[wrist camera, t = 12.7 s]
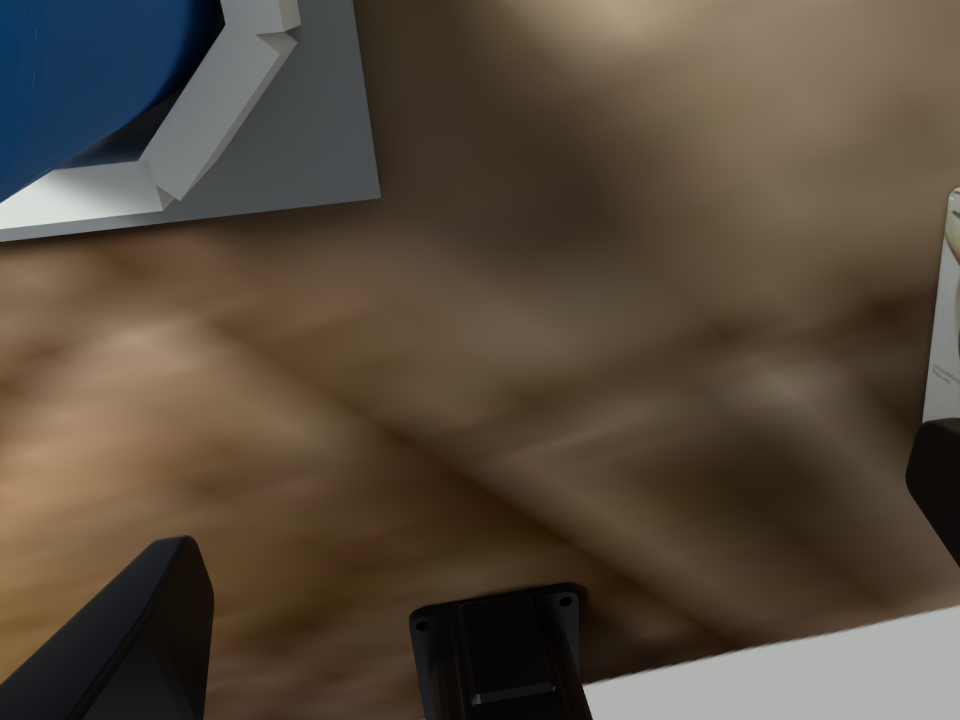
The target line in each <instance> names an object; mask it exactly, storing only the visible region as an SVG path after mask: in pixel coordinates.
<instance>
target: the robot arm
mask: <svg viewBox="0 0 960 720" xmlns="http://www.w3.org/2000/svg"><path fill="white" fill-rule="evenodd" d="M905 477H906V484H907V487H908V490H909V492H910V494H911V496H912V497H913V499H914V500H915V502H916V503H917V505H918V506H919V508H920V509H921V511H922V512H923V514H924V515H925V517H926V518H927V520H928V521H929V523H930V524H931V526H932V527H933V529H934V530H935V532H936V533H937V535H938V536H939V538H940V539H941V540H942V542H943V543H944V545H945V546H946V548H947V549H948V551H949V552H950V554H951V555H952V557H953V558H954V560H955V561H956V563H957V564H958V566H959V567H960V418H956V417H949V418H943V419H936V420H930V421H926V422H924V423H922V424H921V425H920V426H919V427H918V429H917V431H916V434H915V437H914V441H913V445H912V449H911V453H910V457H909V461H908V465H907V469H906V474H905ZM564 597H567V598H564ZM562 598H564V599H562ZM213 613H214V593H213V588H212V584H211V581H210V578H209V576H208V573H207V570H206V567H205V564H204V561H203V558H202V555H201V553H200V550H199V547H198V544H197V542H196V541H195V540H194V538H193V537H191V536H188V535H184V536H177V537H171V538H164V539H159V540H156V541H154V542H152V543H151V544H150V545H149V546H148V547H147V548H146V549H144V550H143V551H142V552H141V553H140V554H139V555H138V556H137V557H136V558H135V559H134V560H133V561H132V562H131V563H130V564H128V565H127V566H126V567H125V568H124V569H123V570H122V571H121V572H120V573H119V574H118V575H117V576H116V577H115V578H114V579H113V580H111V581H110V582H109V583H108V584H107V585H106V586H105V587H104V588H103V589H102V590H101V591H100V592H99V593H98V594H97V595H95V596H94V597H93V598H92V599H91V600H90V601H89V602H88V603H87V604H86V605H85V606H84V607H83V608H82V609H81V610H79V611H78V612H77V613H76V614H75V615H74V616H73V617H72V618H71V619H70V620H69V621H68V622H67V623H66V624H65V625H64V626H62V627H61V628H60V629H59V630H58V631H57V632H56V633H55V634H54V635H53V636H52V637H51V638H50V639H49V640H48V641H46V642H45V643H44V644H43V645H42V646H41V647H40V648H39V649H38V650H37V651H36V652H35V653H34V654H33V655H32V656H31V657H29V658H28V659H27V660H26V661H25V662H24V663H23V664H22V665H21V666H20V667H19V668H18V669H17V670H16V671H15V672H13V673H12V674H11V675H10V676H9V677H8V678H7V679H6V680H5V681H4V682H3V683H2V684H1V685H0V720H203V717H204V707H205V697H206V687H207V676H208V666H209V655H210V645H211V634H212V624H213ZM421 621H426V622H424V623H419V622H421ZM409 628H410V634H411V639H412V645H413V651H414V656H415V662H416V668H417V673H418V679H419V685H420V690H421V696H422V702H423V707H424V713H425V719H426V720H593V719H592V715H591V712H590V709H589V706H588V703H587V700H586V696H585V694H584V690H583V687H582V684H581V681H580V652H579V599H578V596H577V593H576V590H575V588H574V587H573V586H571V585H568V584H563V585H557V586H551V587H545V588H539V589H533V590H527V591H521V592H515V593H509V594H503V595H497V596H492V597H486V598H480V599H474V600H468V601H462V602H456V603H450V604H444V605H438V606H432V607H426V608H420V609H417V610H415V611H414V612H412V613H411V615H410V616H409Z"/></svg>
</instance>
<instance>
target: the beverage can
mask: <svg viewBox="0 0 960 720" xmlns="http://www.w3.org/2000/svg"><path fill="white" fill-rule="evenodd" d="M214 10H215V0H0V203H1V202H3V201H5V200H6V199H8V198H9V197H11V196H13V195H14V194H16V193H17V192H19V191H21V190H22V189H24V188H25V187H27V186H29V185H30V184H32V183H33V182H35V181H37V180H38V179H40V178H41V177H43V176H45V175H46V174H48V173H49V172H51V171H53V170H54V169H56V168H57V167H59V166H61V165H62V164H64V163H65V162H67V161H69V160H70V159H72V158H73V157H75V156H76V155H78V154H80V153H81V152H83V151H84V150H86V149H88V148H89V147H91V146H92V145H94V144H96V143H97V142H99V141H100V140H102V139H104V138H105V137H107V136H108V135H110V134H112V133H113V132H115V131H116V130H118V129H120V128H121V127H123V126H124V125H126V124H128V123H129V122H131V121H132V120H134V119H136V118H137V117H139V116H140V115H142V114H144V113H145V112H147V111H148V110H150V109H152V108H153V107H155V106H156V105H158V104H159V103H161V102H163V101H164V100H165V99H166V98H167V97H169V96H170V95H171V94H172V93H174V92H175V91H176V90H177V89H178V88H179V87H180V86H181V85H182V83H183V82H184V81H185V80H186V79H187V78H188V77H189V75H190V74H191V72H192V71H193V69H194V68H195V66H196V65H197V63H198V62H199V59H200V57H201V55H202V53H203V51H204V49H205V47H206V44H207V41H208V38H209V34H210V31H211V28H212V23H213V17H214Z"/></svg>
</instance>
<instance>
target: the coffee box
mask: <svg viewBox="0 0 960 720" xmlns="http://www.w3.org/2000/svg"><path fill="white" fill-rule="evenodd" d="M949 417H956V418H960V187H958V188H956V189H955V190H954V191H953V192H952V193H951V194H950V196H949V199H948V206H947V214H946V223H945V231H944V240H943V248H942V257H941V265H940V274H939V282H938V291H937V300H936V308H935V316H934V325H933V334H932V342H931V351H930V361H929V370H928V378H927V386H926V394H925V402H924V411H923V421H922V422H923V423H924V422H926V421H930V420H936V419H943V418H949Z"/></svg>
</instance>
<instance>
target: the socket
mask: <svg viewBox="0 0 960 720" xmlns="http://www.w3.org/2000/svg"><path fill="white" fill-rule="evenodd" d="M379 198H381V193H380V184H379V178H378V171H377V164H376V157H375V150H374V143H373V136H372V129H371V122H370V115H369V108H368V101H367V95H366V88H365V81H364V74H363V67H362V60H361V53H360V46H359V39H358V32H357V25H356V19H355V12H354V5H353V0H215V10H214V17H213V23H212V28H211V31H210V34H209V38H208V41H207V44H206V47H205V49H204V51H203V53H202V55H201V57H200V59H199V62H198V63H197V65H196V66H195V68H194V69H193V71H192V72H191V74H190V75H189V77H188V78H187V79H186V80H185V81H184V82H183V83H182V85H181V86H180V87H179V88H178V89H177V90H176V91H175V92H174V93H172V94H171V95H170V96H169V97H167V98H166V99H165V100H164V101H163V102H161V103H159V104H158V105H156V106H155V107H153V108H152V109H150V110H148V111H147V112H145V113H144V114H142V115H140V116H139V117H137V118H136V119H134V120H132V121H131V122H129V123H128V124H126V125H124V126H123V127H121V128H120V129H118V130H116V131H115V132H113V133H112V134H110V135H108V136H107V137H105V138H104V139H102V140H100V141H99V142H97V143H96V144H94V145H92V146H91V147H89V148H88V149H86V150H84V151H83V152H81V153H80V154H78V155H76V156H75V157H73V158H72V159H70V160H69V161H67V162H65V163H64V164H62V165H61V166H59V167H57V168H56V169H54V170H53V171H51V172H49V173H48V174H46V175H45V176H43V177H41V178H40V179H38V180H37V181H35V182H33V183H32V184H30V185H29V186H27V187H25V188H24V189H22V190H21V191H19V192H17V193H16V194H14V195H13V196H11V197H9V198H8V199H6V200H5V201H3V202H1V203H0V242H3V241H12V240H21V239H29V238H38V237H47V236H55V235H64V234H73V233H82V232H90V231H99V230H108V229H117V228H125V227H134V226H143V225H152V224H160V223H169V222H178V221H187V220H195V219H204V218H213V217H221V216H230V215H239V214H248V213H256V212H265V211H274V210H283V209H291V208H300V207H309V206H318V205H326V204H335V203H344V202H353V201H361V200H370V199H379Z"/></svg>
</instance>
